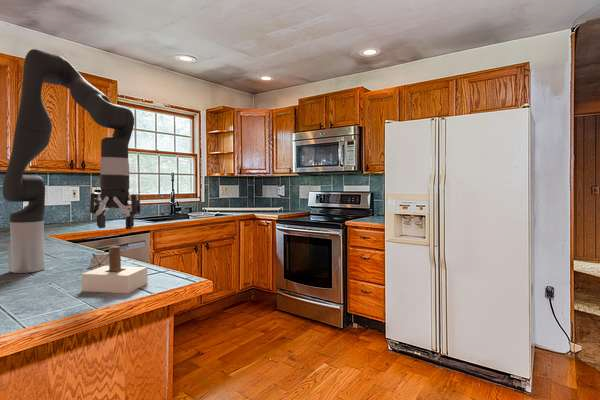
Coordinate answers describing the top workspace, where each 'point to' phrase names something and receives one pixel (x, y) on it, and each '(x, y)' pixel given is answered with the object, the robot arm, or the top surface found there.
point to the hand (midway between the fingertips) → (115, 228)
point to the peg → (115, 259)
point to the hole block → (114, 279)
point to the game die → (99, 261)
